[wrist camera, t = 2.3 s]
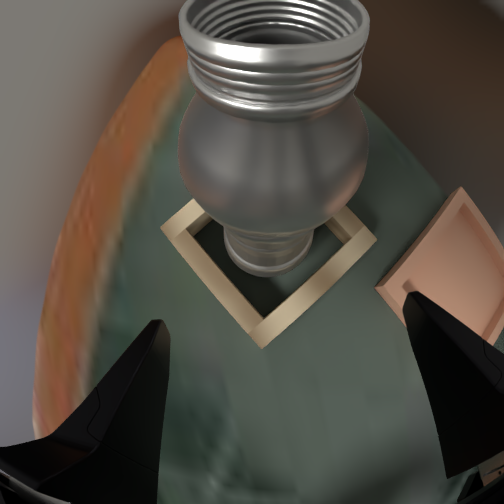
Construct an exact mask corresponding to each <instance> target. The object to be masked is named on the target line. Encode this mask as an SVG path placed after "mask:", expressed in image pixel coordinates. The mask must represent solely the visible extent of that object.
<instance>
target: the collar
mask: <svg viewBox="0 0 504 504" xmlns="http://www.w3.org/2000/svg"><path fill="white" fill-rule="evenodd" d="M211 220H213V218H212V217H211V216H210V215H208V214H207V213H206V212H205V211H204V210H203V209H202V208H201V207H200V205H199V204H198V203H197V202H196V201H195V200H194V198H193V199H192V200H191V201H190V202H189V203H188V204H186V205H185V206H184V207H183V208H182V209H181V210H179V211H178V212H177V213H176V214H175V215H174V216H172V217H171V218H170V219H169V220H168V221H167V222H166V223H165V224H163V225H162V226H161V227H160V228H161V230H162V231H163V232H164V233H165V235H166V236H167V237H168V239H169V240H170V241H171V242H172V244H173V245H174V246H175V248H176V249H177V250H178V251H179V253H180V254H181V255H182V256H183V258H184V259H185V260H186V261H187V263H188V264H189V265H190V266H191V268H192V269H193V270H194V271H195V272H196V274H197V275H198V276H199V277H200V279H201V280H202V281H203V282H204V283H205V285H206V286H207V287H208V288H209V289H210V291H211V292H212V293H213V294H214V295H215V296H216V298H217V299H218V300H219V301H220V302H221V304H222V305H223V306H224V307H225V308H226V309H227V310H228V312H229V313H230V314H231V315H232V316H233V317H234V319H235V320H236V321H237V322H238V323H239V324H240V325H241V327H242V328H243V329H244V330H245V331H246V332H247V333H248V334H249V336H250V337H251V338H252V339H253V340H254V341H255V342H256V343H257V344H258V346H259V347H260V348H261V349H262V348H263V347H265V346H266V345H267V344H268V343H269V342H271V341H272V340H273V339H274V338H275V337H276V336H278V335H279V334H280V333H281V332H282V331H283V330H284V329H286V328H287V327H288V326H289V325H290V324H291V323H292V322H293V321H295V320H296V319H297V318H298V317H299V316H300V315H301V314H302V313H303V312H305V311H306V310H307V309H308V308H309V307H310V306H311V305H312V304H313V303H314V302H315V301H316V300H317V299H319V298H320V297H321V296H322V295H323V294H324V293H325V292H326V291H327V290H328V289H329V288H330V287H331V286H332V285H333V284H334V283H335V282H336V281H337V280H338V279H339V278H340V277H341V276H342V275H343V274H344V273H345V272H346V271H347V270H348V269H349V268H350V267H351V266H352V265H353V264H354V263H355V262H356V261H357V260H358V259H359V258H360V257H361V256H362V255H363V254H364V253H365V252H366V251H367V250H368V249H369V248H370V247H371V246H372V245H373V244H374V243H375V242H376V241H377V239H376V237H375V236H374V235H373V234H372V233H371V232H370V231H369V230H368V228H367V227H366V226H365V225H364V224H363V223H362V222H361V221H360V220H359V219H358V218H357V216H356V215H355V214H354V213H353V212H352V211H351V210H350V209H349V208H348V207H347V206H346V205H345V206H344V207H343V208H342V209H341V210H340V211H339V212H338V213H336V214H335V215H334V216H333V217H331V218H330V219H329V220H327V221H326V222H325V223H324V224H325V225H326V226H327V227H328V228H329V229H330V230H331V231H332V232H333V233H334V234H335V236H336V237H337V238H338V239H339V240H340V241H341V242H342V243H343V244H344V245H343V246H342V247H341V248H340V249H339V250H338V251H337V252H336V253H335V254H334V255H332V256H331V257H330V258H329V259H328V260H327V261H326V262H325V263H324V264H323V265H322V266H321V267H320V268H319V269H318V270H317V271H316V272H315V273H313V274H312V275H311V276H310V277H309V278H308V279H307V280H306V281H305V282H304V283H303V284H302V285H300V286H299V287H298V288H297V289H296V290H295V291H294V292H293V293H292V294H291V295H289V296H288V297H287V298H286V299H285V300H284V301H283V302H282V303H281V304H279V305H278V306H277V307H276V308H275V309H274V310H273V311H272V312H270V313H269V314H268V315H267V316H266V317H265V318H263V317H262V315H261V314H260V313H259V312H258V311H257V310H256V309H255V308H254V306H253V305H252V304H251V303H250V302H249V301H248V300H247V299H246V297H245V296H244V295H243V294H242V293H241V292H240V291H239V289H238V288H237V287H236V286H235V285H234V284H233V282H232V281H231V280H230V279H229V278H228V277H227V276H226V274H225V273H224V272H223V271H222V270H221V269H220V267H219V266H218V265H217V264H216V263H215V261H214V260H213V259H212V258H211V257H210V256H209V254H208V253H207V252H206V251H205V250H204V248H203V247H202V246H201V245H200V244H199V243H198V241H197V240H196V239H195V238H194V237H193V236H194V235H195V234H196V233H198V232H199V231H200V230H201V229H202V228H203V227H204V226H206V225H207V224H208V223H209V222H210V221H211Z"/></svg>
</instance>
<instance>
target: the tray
mask: <svg viewBox="0 0 504 504" xmlns="http://www.w3.org/2000/svg"><path fill="white" fill-rule="evenodd" d="M374 288H375V289H376V291H377V292H378V293H379V294H380V295H381V297H382V298H383V299H384V300H385V301H386V303H387V304H388V305H389V306H390V307H391V309H392V310H393V311H394V312H395V314H396V315H397V316H398V317H399V319H400V320H401V321H402V322H403V324H404V325H405V326H406V324H405V320H404V316H403V312H402V308H403V305H404V302H405V299H406V296H407V294H408V293H409V292H412V291H419V292H421V293H422V294H423V295H425V296H426V297H428V298H429V299H431V300H432V301H433V302H435V303H436V304H438V305H439V306H440V307H442V308H443V309H445V310H446V311H447V312H449V313H450V314H451V315H453V316H454V317H455V318H457V319H458V320H460V321H461V322H462V323H464V324H465V325H466V326H468V327H469V328H470V329H471V330H473V331H474V332H475V333H477V334H478V335H479V336H481V337H482V339H485V340H486V341H487V342H488V343H490V344H491V345H492V346H493V345H494V343H495V341H496V340H497V338H498V336H499V334H500V333H501V331H502V329H503V327H504V248H503V246H502V244H501V243H500V241H499V240H498V238H497V236H496V235H495V233H494V231H493V230H492V229H491V227H490V225H489V224H488V222H487V221H486V219H485V218H484V216H483V215H482V213H481V212H480V211H479V209H478V208H477V206H476V205H475V204H474V202H473V201H472V200H471V198H470V197H469V196H468V194H467V193H466V192H465V190H464V189H463V188H462V187H459V188H458V189H456V190H455V191H454V192H452V193H451V194H450V195H449V197H448V198H447V200H446V201H445V202H444V204H443V205H442V206H441V208H440V209H439V211H438V212H437V213H436V215H435V216H434V217H433V219H432V220H431V221H430V222H429V224H428V225H427V226H426V228H425V229H424V230H423V231H422V233H421V234H420V235H419V236H418V238H417V239H416V240H415V241H414V243H413V244H412V245H411V246H410V247H409V249H408V250H407V251H406V252H405V253H404V255H403V256H402V257H401V258H400V259H399V260H398V262H397V263H396V264H395V265H394V266H393V267H392V268H391V270H390V271H389V272H388V273H387V274H386V275H385V276H384V277H383V278H382V280H381V281H380V282H379V283H378V284H377V285H376V286H375V287H374ZM406 328H407V327H406Z"/></svg>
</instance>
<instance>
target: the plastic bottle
mask: <svg viewBox="0 0 504 504" xmlns="http://www.w3.org/2000/svg"><path fill="white" fill-rule="evenodd" d="M369 23H370V18H369V15H368V12H367V10H366V9H365V8H364V6H363V5H362V4H361V3H360V2H359V1H358V0H187V1H186V3H185V4H184V5H183V6H182V8H181V10H180V13H179V27H180V33H181V36H182V38H183V41H184V44H185V47H186V50H187V53H188V61H187V65H188V71H189V75H190V78H191V81H192V84H193V86H194V88H195V90H196V91H197V92H196V93H195V95H194V96H193V98H192V100H191V102H190V104H189V106H188V108H187V110H186V112H185V114H184V117H183V119H182V122H181V125H180V130H179V138H178V161H179V168H180V174H181V176H182V179H183V181H184V184H185V186H186V188H187V190H188V191H189V193H190V194H191V195H192V197H193V198H194V200H195V201H196V202H197V203H198V204H199V205H200V207H201V208H202V209H203V210H204V211H205V212H206V213H207V214H208V215H210V216H211V217H212V218H213V219H214V220H215V221H216V222H218V223H219V224H221V225H222V226H223V227H224V242H225V247H226V250H227V252H228V254H229V256H230V258H231V259H232V261H233V262H234V263H235V264H236V265H237V266H238V267H239V268H240V269H242V270H244V271H245V272H247V273H249V274H252V275H255V276H260V277H275V276H279V275H282V274H285V273H287V272H289V271H291V270H293V269H294V268H295V267H297V266H298V265H299V264H300V263H301V262H302V261H303V260H304V258H305V257H306V255H307V253H308V252H309V250H310V247H311V244H312V240H313V234H314V229H315V228H317V227H318V226H320V225H322V224H324V223H325V222H326V221H327V220H329V219H330V218H331V217H333V216H334V215H335V214H336V213H338V212H339V211H340V210H341V209H342V208H343V207H344V206H345V205H346V204H347V202H348V201H349V200H350V199H351V198H352V196H353V195H354V194H355V193H356V192H357V190H358V188H359V186H360V184H361V182H362V180H363V178H364V174H365V170H366V165H367V161H368V150H369V135H368V128H367V124H366V121H365V117H364V115H363V113H362V111H361V108H360V106H359V104H358V102H357V100H356V98H355V97H354V95H353V92H354V90H355V89H356V86H357V83H358V80H359V78H360V74H361V69H362V63H361V56H362V52H363V50H364V47H365V44H366V40H367V38H368V34H369V29H370V27H369Z"/></svg>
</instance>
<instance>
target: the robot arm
mask: <svg viewBox="0 0 504 504" xmlns="http://www.w3.org/2000/svg"><path fill="white" fill-rule="evenodd" d="M402 312H403V316H404V320H405V324H406V327H407V331H408V335H409V339H410V343H411V346H412V349H413V352H414V355H415V358H416V361H417V364H418V367H419V370H420V373H421V376H422V379H423V382H424V385H425V388H426V392H427V395H428V398H429V402H430V405H431V409H432V413H433V416H434V420H435V424H436V428H437V432H438V435H439V436H438V437H439V441H440V446H441V451H442V456H443V461H444V466H445V472H446V477H447V479H448V478H451V477H453V476H455V475H458V474H460V473H462V472H464V471H466V470H469V469H471V468H473V467H475V466H477V467H478V471H476V472H475V473H473V474H471V475H470V476H469V477H468V479H467V481H466V483H465V485H464V487H463V489H462V491H461V493H460V495H459V497H458V499H457V502H458V503H456V504H504V354H503V353H502V352H500V351H499V350H497V349H496V348H495V347H494V346H492V345H491V344H490V343H488V342H487V341H486V340H485V339H482V337H481V336H479V335H478V334H477V333H475V332H474V331H473V330H471V329H470V328H469V327H468V326H466V325H465V324H464V323H462V322H461V321H460V320H458V319H457V318H455V317H454V316H453V315H451V314H450V313H449V312H447V311H446V310H445V309H443V308H442V307H440V306H439V305H438V304H436V303H435V302H433V301H432V300H431V299H429V298H428V297H426V296H425V295H423V294H422V293H421V292H419V291H412V292H409V293H408V294H407V296H406V299H405V302H404V305H403V308H402ZM169 367H170V334H169V331H168V329H167V327H166V325H165V323H164V321H163V320H161V319H157V320H151V321H150V322H149V323H148V325H147V326H146V327H145V328H144V329H143V330H142V332H141V333H140V334H139V335H138V336H137V337H136V339H135V340H134V341H133V342H132V343H131V344H130V346H129V347H128V348H127V349H126V350H125V352H124V353H123V354H122V355H121V356H120V358H119V359H118V360H117V361H116V362H115V364H114V365H113V366H112V367H111V368H110V370H109V371H108V372H107V373H106V374H105V376H104V377H103V378H102V379H101V381H100V382H99V383H98V384H97V387H95V388H94V389H93V390H92V392H91V393H90V394H89V395H88V396H87V398H86V399H85V400H84V401H83V402H82V403H81V404H80V405H79V407H78V408H77V409H76V410H75V411H74V412H73V413H72V414H71V415H70V416H69V417H68V418H67V419H66V420H65V421H64V422H63V423H62V424H61V425H60V426H59V427H58V428H57V429H56V430H55V431H54V432H53V433H51V434H50V435H48V436H46V437H44V438H41V439H37V440H33V441H29V442H25V443H21V444H17V445H12V446H7V447H0V469H1V470H2V471H4V472H5V473H7V474H8V475H10V477H9V476H7V475H5V474H3V473H1V472H0V504H157V490H158V473H159V460H160V449H161V439H162V429H163V420H164V412H165V404H166V396H167V389H168V381H169Z"/></svg>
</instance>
